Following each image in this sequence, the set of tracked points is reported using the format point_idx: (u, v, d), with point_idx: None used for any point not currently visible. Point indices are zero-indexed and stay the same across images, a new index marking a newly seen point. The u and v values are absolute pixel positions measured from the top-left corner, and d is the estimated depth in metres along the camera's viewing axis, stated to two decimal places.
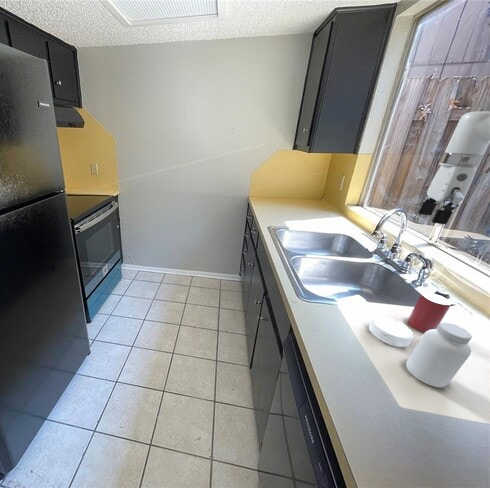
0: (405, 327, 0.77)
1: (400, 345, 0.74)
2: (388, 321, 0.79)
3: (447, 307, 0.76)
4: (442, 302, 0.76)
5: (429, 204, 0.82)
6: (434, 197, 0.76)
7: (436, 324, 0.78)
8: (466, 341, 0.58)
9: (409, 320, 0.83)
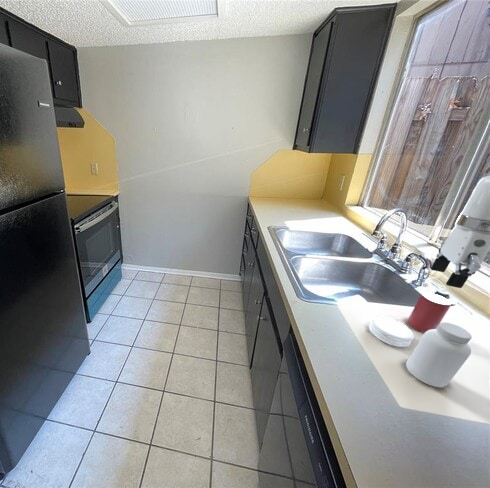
0: (405, 327, 0.77)
1: (400, 345, 0.74)
2: (388, 321, 0.79)
3: (447, 307, 0.76)
4: (442, 302, 0.76)
5: (442, 261, 0.78)
6: (449, 258, 0.73)
7: (436, 324, 0.78)
8: (466, 341, 0.58)
9: (409, 320, 0.83)
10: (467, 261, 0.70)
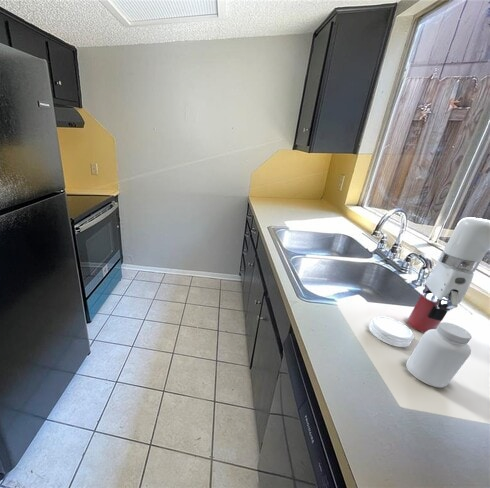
0: (405, 327, 0.77)
1: (400, 345, 0.74)
2: (388, 321, 0.79)
3: None
4: (442, 302, 0.76)
5: None
6: (433, 292, 0.77)
7: (436, 324, 0.78)
8: (466, 341, 0.58)
9: (409, 320, 0.83)
10: None
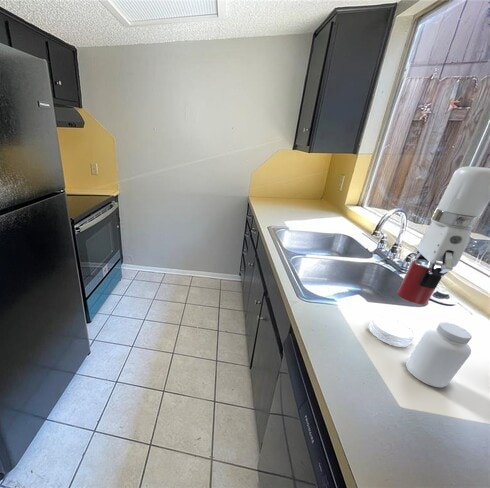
0: (405, 327, 0.77)
1: (400, 345, 0.74)
2: (388, 321, 0.79)
3: None
4: (435, 267, 0.67)
5: None
6: (425, 256, 0.68)
7: (429, 293, 0.69)
8: (466, 341, 0.58)
9: (399, 291, 0.74)
10: None
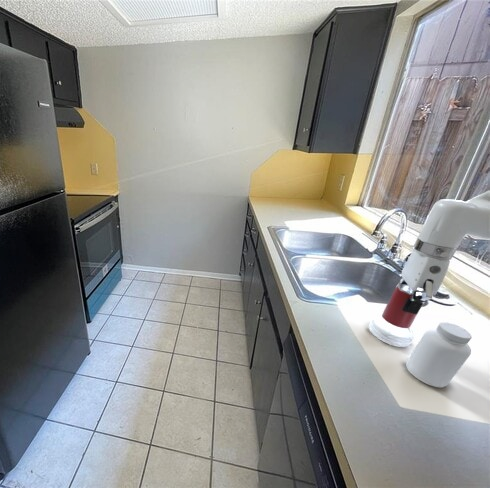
0: None
1: (400, 345, 0.74)
2: None
3: None
4: (417, 294, 0.70)
5: None
6: (407, 283, 0.70)
7: (411, 318, 0.72)
8: (466, 341, 0.58)
9: (384, 314, 0.77)
10: None
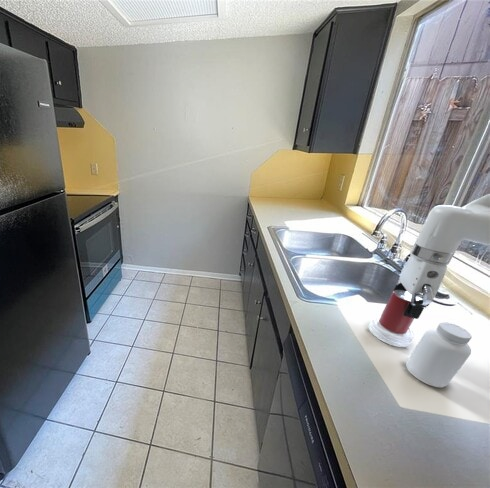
0: None
1: (400, 345, 0.74)
2: None
3: None
4: None
5: (402, 288, 0.76)
6: (405, 287, 0.71)
7: (408, 324, 0.72)
8: (466, 341, 0.58)
9: (380, 319, 0.77)
10: (422, 291, 0.68)
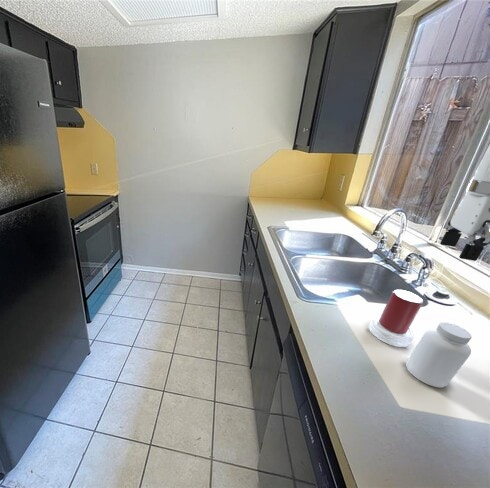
0: None
1: (400, 345, 0.74)
2: None
3: (418, 305, 0.70)
4: (413, 300, 0.71)
5: (453, 234, 0.72)
6: (461, 229, 0.67)
7: (408, 324, 0.72)
8: (466, 341, 0.58)
9: (380, 319, 0.77)
10: (481, 231, 0.64)
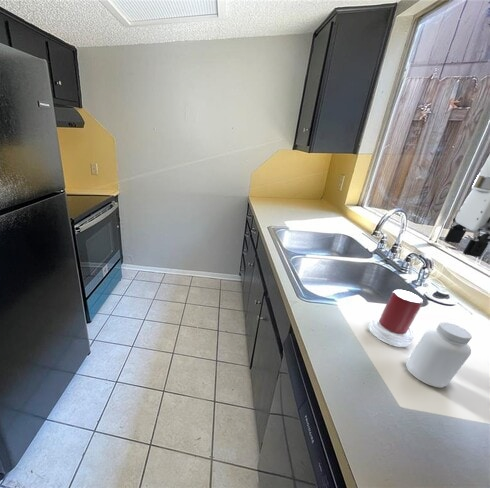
0: None
1: (400, 345, 0.74)
2: None
3: (418, 305, 0.70)
4: (413, 300, 0.71)
5: (457, 231, 0.72)
6: (465, 225, 0.67)
7: (408, 324, 0.72)
8: (466, 341, 0.58)
9: (380, 319, 0.77)
10: (486, 227, 0.64)
